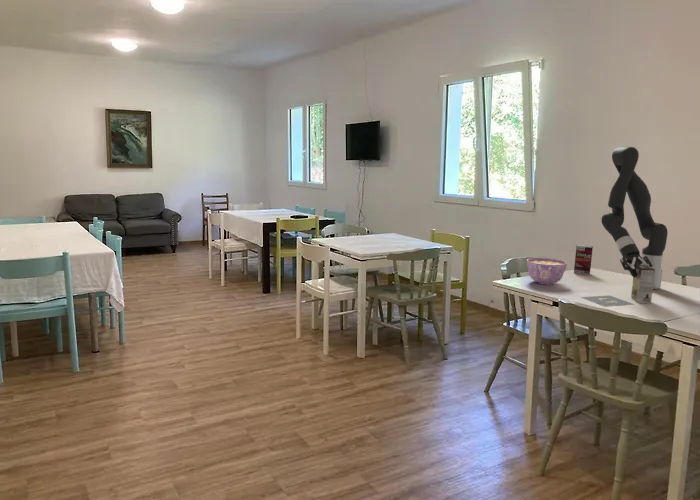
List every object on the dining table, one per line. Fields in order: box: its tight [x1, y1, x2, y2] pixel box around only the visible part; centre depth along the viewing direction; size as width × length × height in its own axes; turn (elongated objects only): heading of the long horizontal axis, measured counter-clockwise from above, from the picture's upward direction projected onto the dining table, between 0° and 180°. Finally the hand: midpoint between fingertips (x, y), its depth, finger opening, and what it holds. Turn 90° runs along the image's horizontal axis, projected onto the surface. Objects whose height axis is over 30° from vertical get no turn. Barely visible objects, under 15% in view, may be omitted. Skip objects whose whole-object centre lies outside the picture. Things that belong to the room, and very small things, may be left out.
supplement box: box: [573, 244, 594, 276], centre depth 314 cm, size 9×5×16 cm, turn 68°
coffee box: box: [630, 265, 655, 304], centre depth 256 cm, size 9×6×16 cm
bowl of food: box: [526, 257, 568, 285], centre depth 290 cm, size 20×20×12 cm
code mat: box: [581, 295, 634, 307], centre depth 257 cm, size 16×16×1 cm
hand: (643, 276), depth 257 cm, fingers open, 8 cm apart
